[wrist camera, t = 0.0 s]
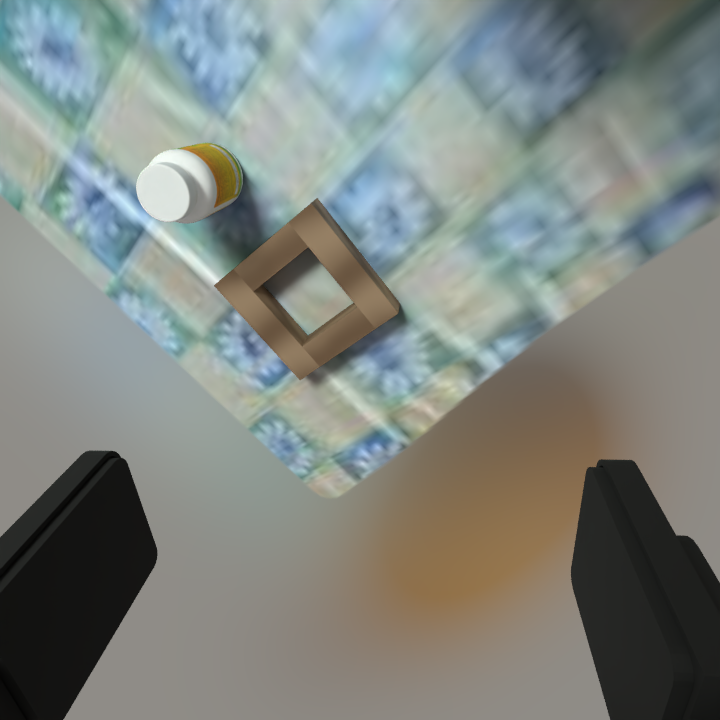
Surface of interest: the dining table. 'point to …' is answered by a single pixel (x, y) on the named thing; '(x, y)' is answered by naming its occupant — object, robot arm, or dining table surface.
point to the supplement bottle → (189, 183)
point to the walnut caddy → (340, 261)
